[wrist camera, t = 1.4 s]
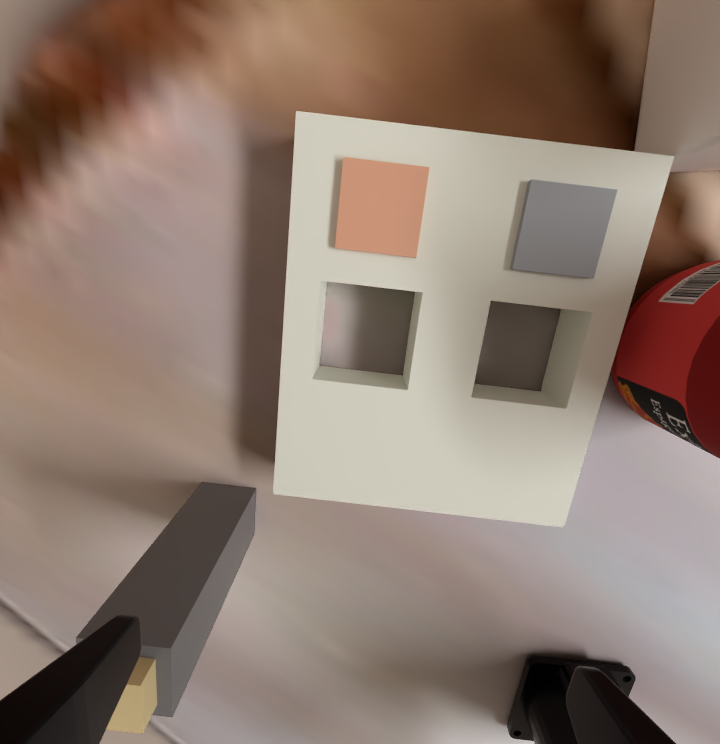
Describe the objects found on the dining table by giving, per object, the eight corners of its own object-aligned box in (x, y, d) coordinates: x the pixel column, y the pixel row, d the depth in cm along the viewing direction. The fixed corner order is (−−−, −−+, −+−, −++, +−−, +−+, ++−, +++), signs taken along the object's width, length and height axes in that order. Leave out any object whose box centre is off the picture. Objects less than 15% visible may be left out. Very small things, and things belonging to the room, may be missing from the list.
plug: (254, 534, 21) (159, 746, 12) (201, 528, 21) (64, 736, 11) (256, 488, 20) (156, 675, 11) (202, 482, 20) (55, 663, 11)
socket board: (540, 497, 20) (567, 531, 17) (284, 467, 20) (271, 497, 17) (627, 174, 16) (681, 153, 13) (307, 136, 16) (294, 107, 13)
